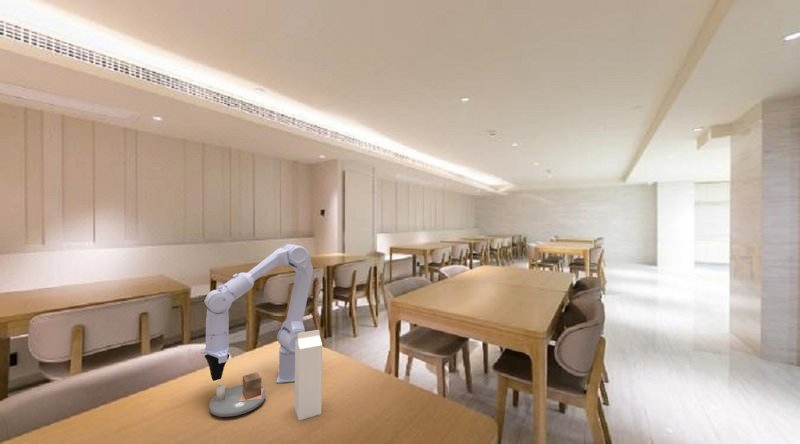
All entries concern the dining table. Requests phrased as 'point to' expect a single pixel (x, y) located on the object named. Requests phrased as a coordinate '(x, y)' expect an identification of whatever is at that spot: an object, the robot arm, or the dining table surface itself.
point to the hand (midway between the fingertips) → (216, 379)
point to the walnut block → (251, 385)
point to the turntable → (233, 401)
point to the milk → (308, 374)
